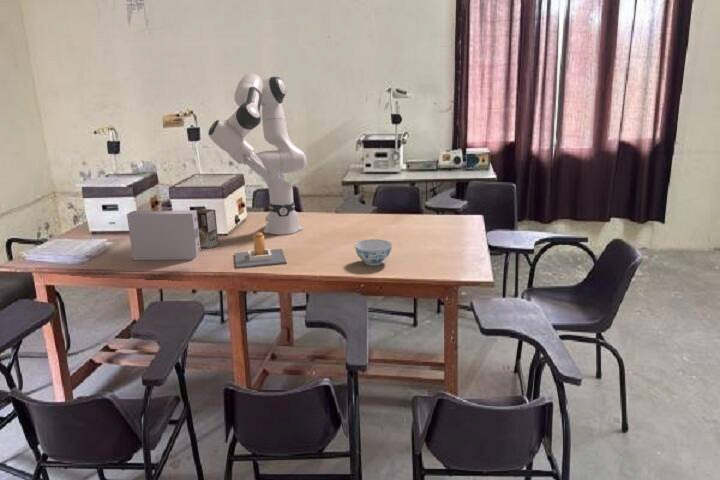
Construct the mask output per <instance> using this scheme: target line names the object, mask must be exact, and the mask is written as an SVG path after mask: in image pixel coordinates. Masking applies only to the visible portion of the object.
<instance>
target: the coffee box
mask: <svg viewBox="0 0 720 480" xmlns="http://www.w3.org/2000/svg"><path fill="white" fill-rule="evenodd" d="M195 210H196V211H197V220H198V230H199V240H200V248H209V249H211V248H213V247H215V246H218V245H219V237H218V227H217V226H218V224H217V215H216V209H208V208H200V207H199V208H197V209H195Z"/></svg>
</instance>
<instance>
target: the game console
mask: <svg viewBox="0 0 720 480" xmlns="http://www.w3.org/2000/svg"><path fill="white" fill-rule="evenodd" d="M126 218H127V224H128V225H127V226H128V232H129V233H128V234H129V239H130V246H131V247H130V249H131V254H132V255H131V256H132V260H133V261H163V260H164V261H166V260H167V261H168V260H169V261H173V260H174V261H177V260H179V261H181V260H193V259H194V258H195V257H196V256H197V255H198V254H199V253H200V251H201V247H200V240H199V230H198V220H197V211H196V209H194V210H192V209H191V210H186V209H185V210H178V209H176V210H157V211H156V210H155V211H154V210H151V211H150V210H149V211H148V210H145V211H140V210H139V211H138V210H133V211H130V212H128V213H127V214H126Z"/></svg>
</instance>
